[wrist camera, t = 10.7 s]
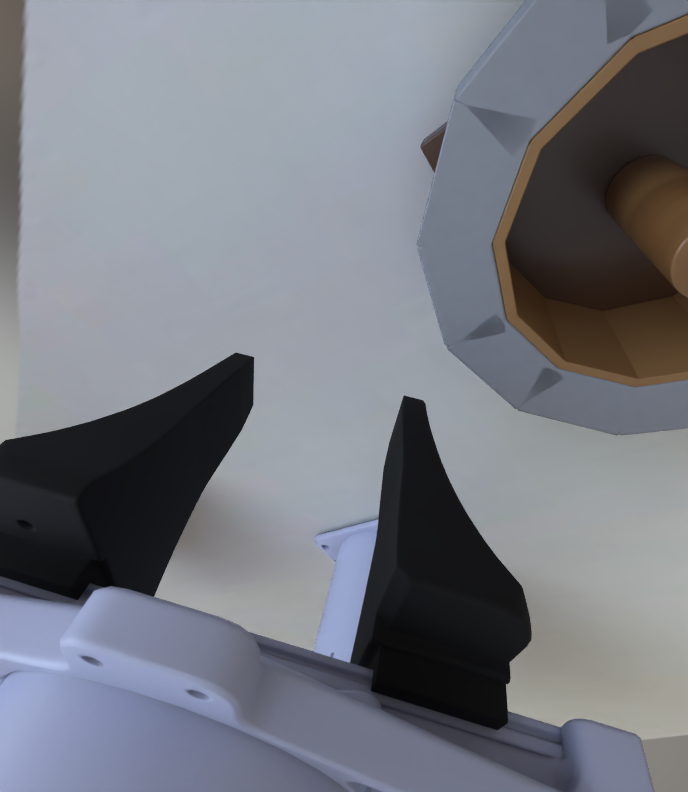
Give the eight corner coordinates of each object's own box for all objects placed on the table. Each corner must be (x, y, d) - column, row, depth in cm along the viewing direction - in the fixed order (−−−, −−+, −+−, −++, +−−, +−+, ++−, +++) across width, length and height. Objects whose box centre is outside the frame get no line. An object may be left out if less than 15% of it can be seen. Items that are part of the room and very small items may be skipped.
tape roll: (946, 253, 13) (1118, 325, 9) (518, 404, 19) (530, 478, 16) (929, -352, 8) (1294, -670, 4) (355, 131, 14) (321, 156, 11)
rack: (854, 227, 14) (1101, 337, 8) (538, 355, 19) (568, 474, 14) (805, -151, 10) (1213, -396, 4) (422, 140, 15) (397, 189, 10)
